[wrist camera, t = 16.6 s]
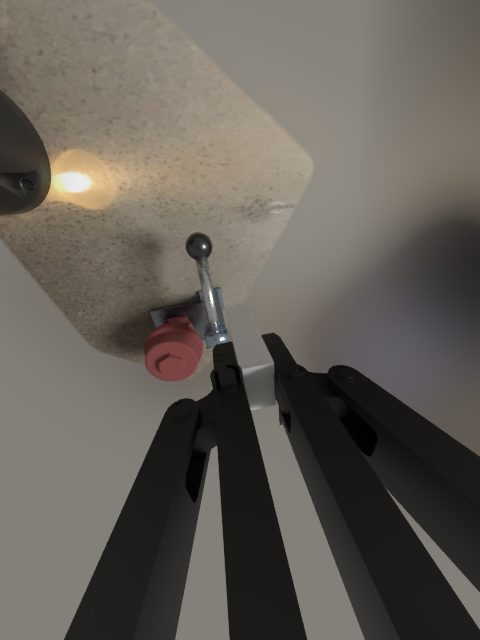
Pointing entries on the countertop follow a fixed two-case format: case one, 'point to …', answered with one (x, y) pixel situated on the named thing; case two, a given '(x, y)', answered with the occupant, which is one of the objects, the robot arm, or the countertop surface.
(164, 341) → the mechanical component
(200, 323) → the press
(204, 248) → the lever
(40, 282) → the countertop surface
